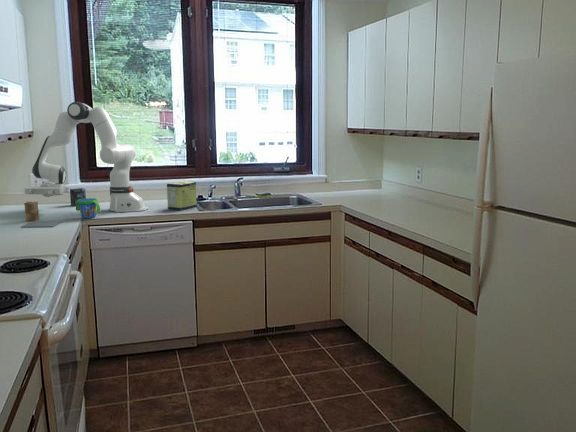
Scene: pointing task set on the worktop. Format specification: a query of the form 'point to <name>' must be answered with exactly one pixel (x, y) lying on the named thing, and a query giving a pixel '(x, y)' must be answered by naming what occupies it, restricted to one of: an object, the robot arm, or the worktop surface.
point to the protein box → (181, 195)
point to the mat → (41, 224)
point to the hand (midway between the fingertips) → (38, 192)
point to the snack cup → (87, 207)
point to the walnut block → (31, 211)
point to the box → (77, 195)
